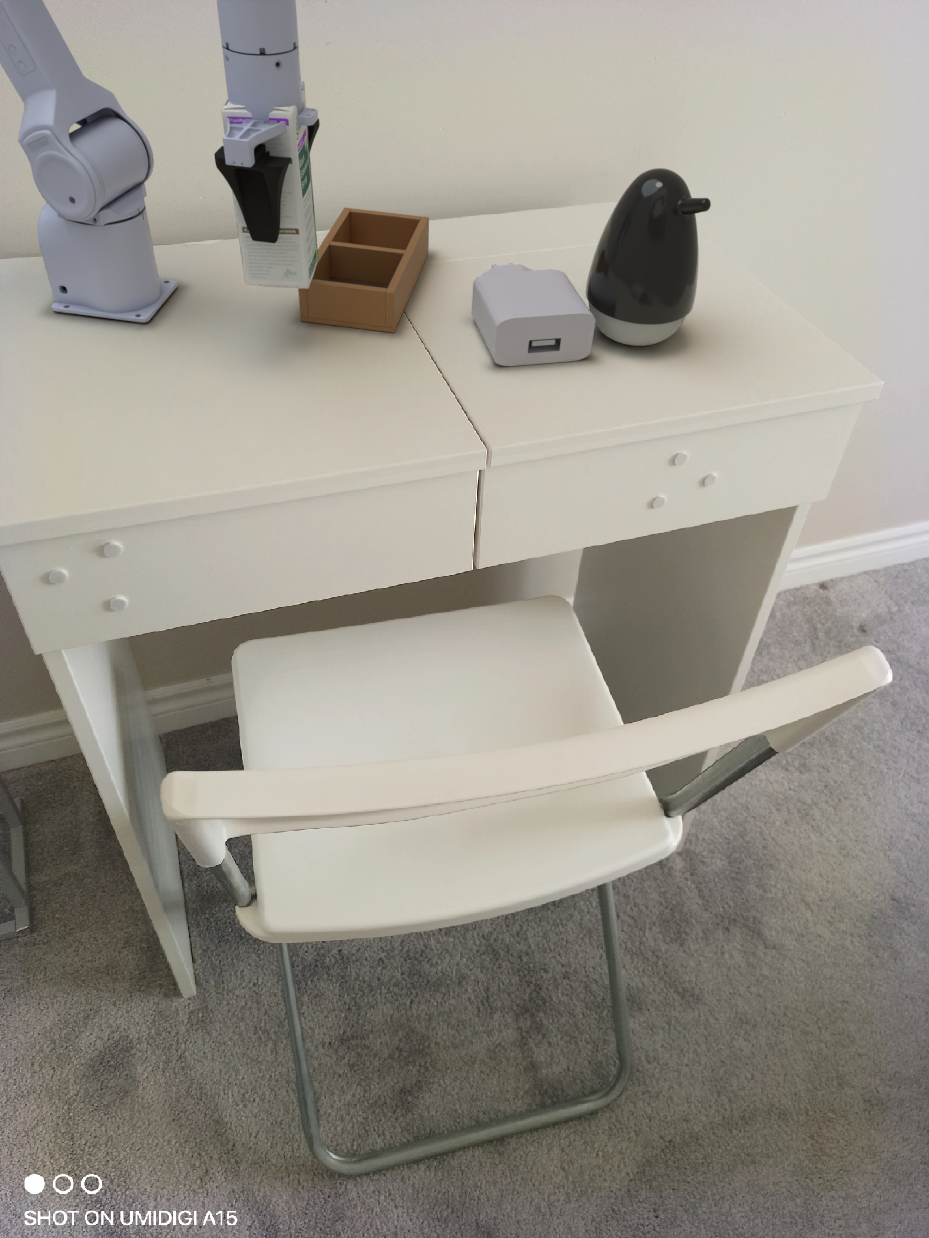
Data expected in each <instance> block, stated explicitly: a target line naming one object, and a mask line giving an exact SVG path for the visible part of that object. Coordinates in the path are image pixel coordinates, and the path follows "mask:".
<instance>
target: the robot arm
mask: <svg viewBox="0 0 929 1238" xmlns="http://www.w3.org/2000/svg"><path fill="white" fill-rule="evenodd" d="M216 7H217V16H218V24H219V34H220V41H221V50H222V59H223V67H224V76H225V77H224V78H225V85H226V92H227V93H226V94H227V100H228V102H230V103H232V104H235V105H240V106H245V107H246V111H248V112H250V113H251V115H252V119H253V120H251V119H245V120H244V122H243V123H242V124H240V125H233V124H232V123H231V122H230V118H227V133H226V135H225V134H224V136H222V145H221V146H220V147H219V148H218V149H217V150H216V151H215V153H214V154H213V155H214V162H215V166H216V169H217V170H218V171H219V172H220V174H221V175H222V177H223V178H224V180H225V181H226V183H227V184H228V185H229V188H230V189H231V192H232V191H233V193H234V195H235V197H236V199H237V201H238V204H239V206H240V209H241V212H242V214H243V217H244V220H245V223H246V226H247V228H248V231H249V234H250V236H251V238H252V240H253V241H259V242H267V243H276V242H277V240H278V236H279V230H280V207H281V194H282V187H283V182H284V178H285V174H286V171H287V168H288V166H289V163H290V161H291V159H290V158H284V157H275V156H270V153H269V151H267V152H266V148H265V144H261V143H263V142H265V141H267V140H269V139H271V138H274V137H276V136H278V135H280V134H282V133H285V132H286V131H287V130H286V122H285V121H280V123H277V121H274V120H270V121H269V113H271V112H273V111H274V109H273V108H274V107H287V106H293V105H295V106H296V107H297V113H298V115H297V125H298V126H300V125H305V126H307V128H308V139H309V151H310V152H312V146H313V144H314V141H315V138H316V135H317V133H318V131H319V128H320V125H321V124H320V118H319V112H318V109H316V108H313V107H307V106H306V107H305V104H304V102H303V103H302V89H303V90H304V93H305V94H306V86H305V81H303V80H302V74H301V61H300V60H301V59H300V48H299V47H300V46H299V43H300V42H299V31H298V15H297V13H298V12H297V0H216ZM0 66H1V67H2V69H3V71H4V72H5V74H6V76H7V78H8V79H9V81H10V83H11V85H12V86H13V88H14V89H15V91H16V93H17V94H18V96H19V98H20V100H21V101H22V103H23V112H22V117H21V121H20V125H19V131H18V135H17V142H18V144H19V145H20V147H21V148H22V150H23V152H24V154H25V156H26V158H27V160H28V163H29V166H30V168H31V174H32V178H33V181H34V184H35V187H36V188H37V190H38V192H39V194H40V195H41V197H42V198H43V199H44V201H45V202H46V203H45V204H44V205H43V207H42V208H41V210H40V211H39V215H38V221H37V241H38V245H39V250H40V253H41V256H42V259H43V264H44V268H45V271H46V275H47V279H48V282H49V287H50V289H51V293H52V297H53V301H54V302H52V304H51V306H50V307H51V310H52V311H53V312H57V313H65V314H74V315H81V316H87V317H88V316H89V317H96V318H104V319H105V318H106V319H112V320H120V321H128V322H134V323H135V322H137V323H143V324H145V323H148V322H149V321H151V319H152V318H153V317H154V315H156V313H157V312H158V310H159V309H160V308H161V307H162V306H163V304H164V303H165V302H166V301H167V300H168V299H169V297H170V296H171V295H172V294H173V292H174V291H175V290H176V288H177V287H178V282H177V281H176V280H172V279H166V278H165V279H164V278H160V277H159V271H158V266H157V260H156V254H155V250H154V249H155V248H154V244H153V239H152V234H151V233H152V232H151V228H150V223H149V218H148V212H147V207H146V201H145V198H146V197H147V195H148V194H147V189H146V184H145V183H146V182H147V181H149V179H150V178H151V176H152V173H153V171H154V165H155V158H154V152H153V149H152V146H151V142H150V141H149V139H148V136H147V135H146V134H145V132H144V131H143V130H142V128H141V127H140V126H139V125H138V124H137V123H136V122H135V121H134V120H133V119H132V118H131V117H130V116H128V114H127V113H126V112H125V111H124V109H123V108H122V106H121V104H120V102H119V101H118V99H117V97H116V95H115V93H113V92H112V91H110V90H109V89H108V88H106V87H104V86H102V85H101V84H98V83H96V82H94V81H93V80H91V79H89V78H87V77H86V76H85V75H84V74H83V72H82V70H81V68H80V66H79V64H78V62H77V61H76V59H75V57H74V56H73V54H72V52H71V50H70V48H69V46H68V44H67V43H66V41H65V38H64V37H63V36H62V34H61V32H60V30H59V28H58V26H57V24H56V22H55V21H54V19H53V17H52V15H51V13H50V12H49V9H48V7H47V6H46V4H45V2H44V0H0ZM301 88H302V89H301ZM305 103H306V104H307V101H306V98H305ZM74 124H76V125H77V126H79V127H78V128H76V129H75V130H74V129H73V130H72V131H71V132H70V129H71V127H73V126H74ZM233 193H232V194H233Z"/></svg>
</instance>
